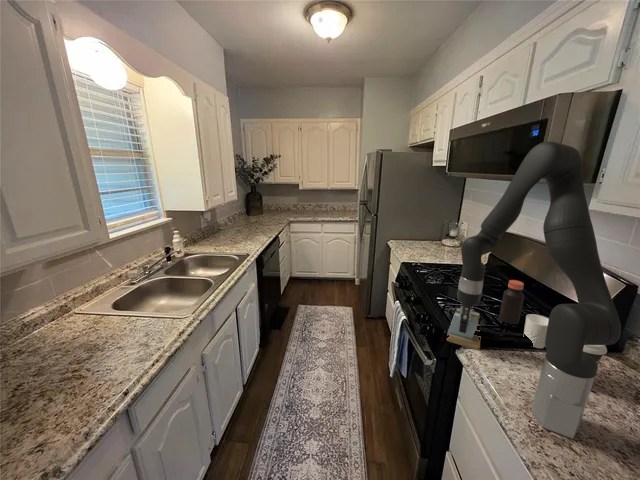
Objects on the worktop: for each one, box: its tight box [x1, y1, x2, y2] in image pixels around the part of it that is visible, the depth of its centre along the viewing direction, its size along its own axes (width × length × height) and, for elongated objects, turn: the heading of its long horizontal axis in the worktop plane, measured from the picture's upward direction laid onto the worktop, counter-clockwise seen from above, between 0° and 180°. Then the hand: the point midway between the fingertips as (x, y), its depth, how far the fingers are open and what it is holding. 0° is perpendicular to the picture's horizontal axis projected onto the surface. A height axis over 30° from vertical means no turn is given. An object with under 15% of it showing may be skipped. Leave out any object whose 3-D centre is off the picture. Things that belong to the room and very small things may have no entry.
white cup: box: [523, 313, 549, 349], centre depth 98 cm, size 8×8×10 cm
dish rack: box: [446, 307, 481, 352], centre depth 103 cm, size 14×11×9 cm
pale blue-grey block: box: [446, 312, 479, 340], centre depth 100 cm, size 2×8×9 cm, turn 58°
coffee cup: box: [583, 345, 608, 365], centre depth 80 cm, size 10×10×15 cm
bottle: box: [498, 279, 525, 325], centre depth 108 cm, size 7×7×20 cm
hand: (462, 329), depth 100 cm, fingers closed on pale blue-grey block, 2 cm apart
